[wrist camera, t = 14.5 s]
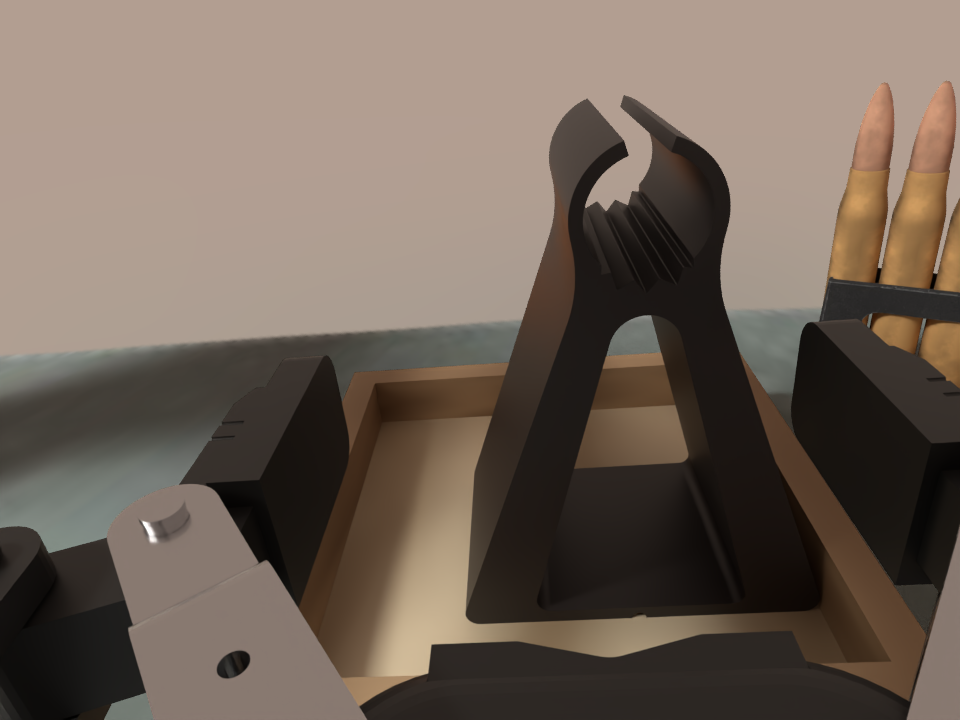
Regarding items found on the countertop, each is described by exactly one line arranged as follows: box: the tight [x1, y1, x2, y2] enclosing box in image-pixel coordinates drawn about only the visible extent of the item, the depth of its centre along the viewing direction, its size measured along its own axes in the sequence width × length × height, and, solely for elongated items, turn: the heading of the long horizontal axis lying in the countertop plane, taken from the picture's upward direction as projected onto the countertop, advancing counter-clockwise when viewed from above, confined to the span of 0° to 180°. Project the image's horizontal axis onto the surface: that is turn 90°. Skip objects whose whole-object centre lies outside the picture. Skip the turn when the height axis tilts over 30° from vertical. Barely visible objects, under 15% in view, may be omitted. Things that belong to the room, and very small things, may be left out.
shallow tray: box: [299, 352, 926, 706], centre depth 21 cm, size 15×15×3 cm
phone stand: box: [465, 95, 820, 624], centre depth 17 cm, size 9×6×12 cm, turn 88°
